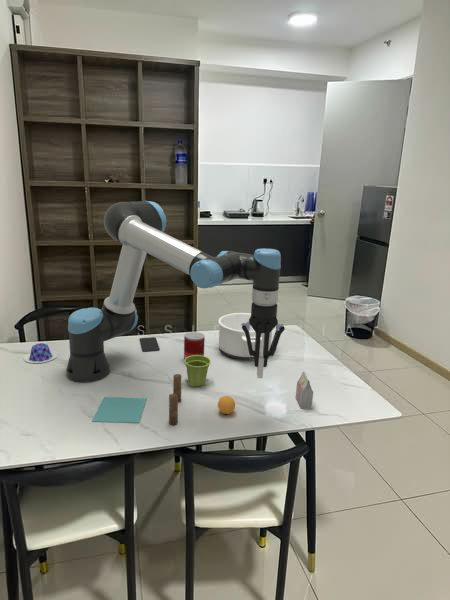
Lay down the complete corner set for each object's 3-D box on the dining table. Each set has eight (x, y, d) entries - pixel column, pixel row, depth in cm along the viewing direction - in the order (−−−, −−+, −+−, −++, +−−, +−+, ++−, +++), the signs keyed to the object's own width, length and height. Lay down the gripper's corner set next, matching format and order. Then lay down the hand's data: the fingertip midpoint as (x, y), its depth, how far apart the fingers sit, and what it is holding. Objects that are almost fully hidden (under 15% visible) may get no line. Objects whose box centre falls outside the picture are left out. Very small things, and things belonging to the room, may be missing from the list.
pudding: (23, 366, 155) (22, 353, 153) (24, 353, 165) (23, 341, 164) (58, 362, 160) (57, 349, 158) (56, 350, 170) (55, 338, 168)
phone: (155, 337, 187) (160, 349, 173) (155, 338, 187) (160, 351, 173) (139, 338, 185) (142, 351, 171) (139, 339, 185) (142, 353, 171)
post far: (172, 402, 135) (172, 377, 132) (173, 398, 137) (173, 373, 134) (180, 402, 135) (181, 377, 132) (181, 398, 137) (181, 374, 135)
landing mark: (91, 421, 122) (91, 421, 122) (104, 397, 136) (103, 396, 136) (139, 423, 123) (139, 422, 123) (146, 398, 136) (146, 398, 136)
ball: (217, 417, 128) (218, 401, 126) (217, 407, 133) (218, 392, 131) (235, 417, 128) (236, 401, 126) (234, 407, 133) (235, 392, 132)
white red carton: (306, 398, 141) (309, 371, 138) (311, 408, 135) (314, 381, 132) (295, 397, 141) (298, 371, 138) (300, 408, 135) (303, 381, 132)
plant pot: (213, 379, 151) (214, 357, 149) (204, 391, 143) (204, 368, 140) (190, 374, 154) (190, 353, 151) (179, 385, 145) (179, 363, 143)
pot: (212, 337, 191) (214, 309, 187) (262, 336, 194) (264, 309, 190) (222, 369, 159) (223, 336, 155) (281, 368, 163) (284, 335, 159)
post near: (168, 424, 122) (168, 398, 120) (169, 419, 125) (169, 393, 122) (177, 425, 123) (177, 398, 120) (178, 420, 125) (178, 393, 122)
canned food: (203, 365, 162) (203, 339, 158) (182, 364, 162) (183, 338, 159) (204, 357, 169) (205, 332, 166) (184, 356, 169) (185, 331, 166)
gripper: (243, 305, 116) (239, 381, 123) (289, 307, 117) (282, 382, 123) (241, 298, 123) (237, 370, 130) (284, 299, 124) (279, 371, 131)
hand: (259, 376), depth 127 cm, fingers closed
